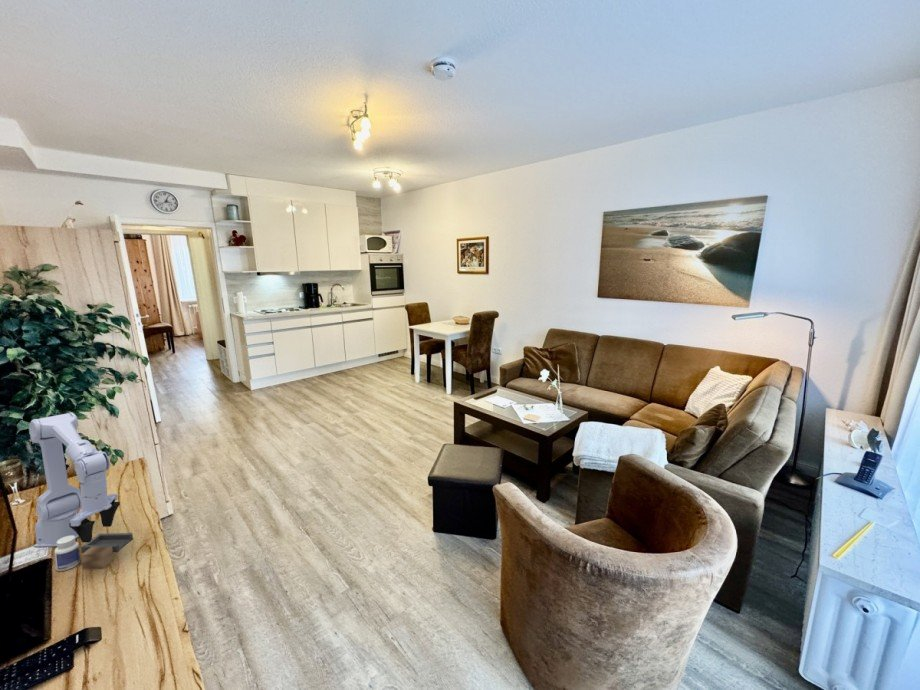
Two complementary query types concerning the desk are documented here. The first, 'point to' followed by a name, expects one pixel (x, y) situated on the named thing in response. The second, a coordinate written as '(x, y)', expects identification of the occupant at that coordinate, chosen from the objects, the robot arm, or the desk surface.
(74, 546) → the pill bottle
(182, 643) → the desk surface
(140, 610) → the desk surface
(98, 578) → the desk surface
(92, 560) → the walnut block
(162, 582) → the desk surface
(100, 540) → the gray u-shaped channel bracket
